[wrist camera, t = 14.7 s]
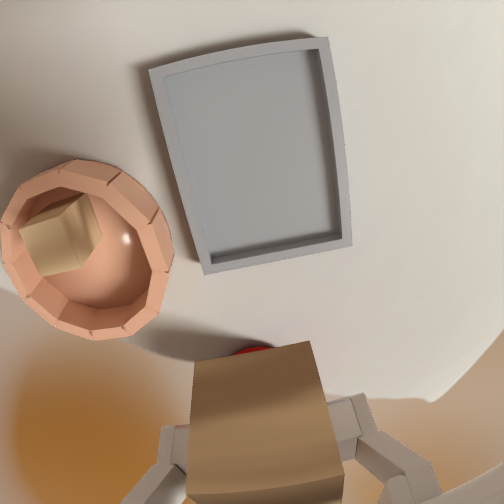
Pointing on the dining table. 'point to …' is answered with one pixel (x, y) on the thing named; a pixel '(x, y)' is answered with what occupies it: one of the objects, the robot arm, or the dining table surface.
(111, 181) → the bowl
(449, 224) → the dining table surface
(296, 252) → the tray
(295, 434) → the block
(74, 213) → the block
